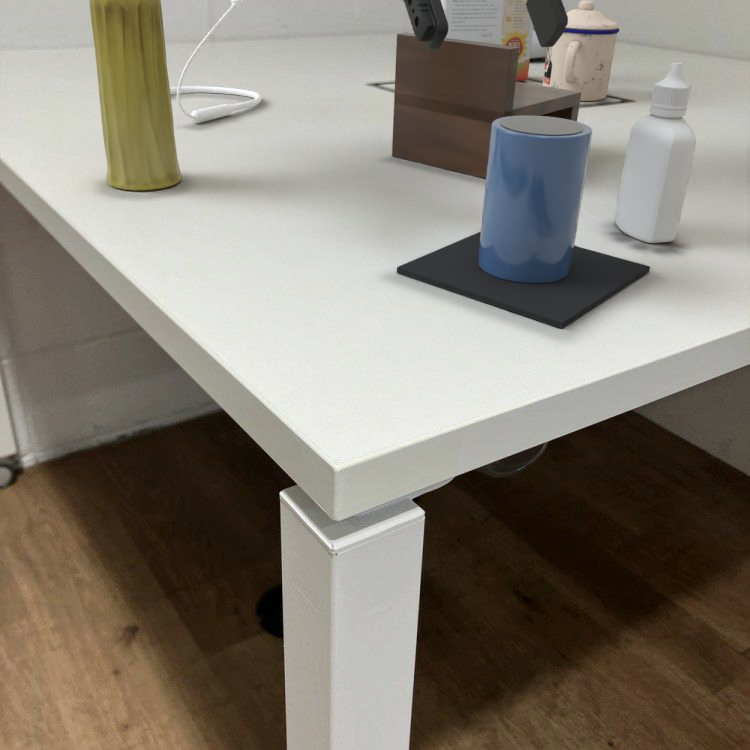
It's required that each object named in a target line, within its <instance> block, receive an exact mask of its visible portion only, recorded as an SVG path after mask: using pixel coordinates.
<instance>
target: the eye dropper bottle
mask: <svg viewBox="0 0 750 750" xmlns="http://www.w3.org/2000/svg"><path fill="white" fill-rule="evenodd" d="M691 89H692V87H691V85H690V84H689V83H687V82H685V80H684V79H683V63H681V62H671V64H670V66H669V69H668V71H667V74H666V76H665V78H664V79H661V80H659V81H657V82H655V83H654V84H653V90H652V95H651V100H650V105H649V110H648V111H649V113H650V114H649V115H646V116H643V117H640V118H638V119H637V120H636V121H634V123H633V124H632V126H631V130H630V132H629V138H628V142H627V146H626V147H627V148H626V152H625V158H624V163H623V169H622V174H621V180H620V186H619V192H618V197H617V202H616V208H615V213H614V222H615V224H616V227H618V229H619V230H620V231H621V232H623V233H624V234H625V235H627V236H630V237H631V238H634V239H635V240H639V241H641V242H644V243H649V244H658V243H659V244H660V243H670V242H674V240H675V239H676V237H677V236H678V235H677V234H678V229H679V225H680V222H681V216H682V211H683V207H684V202H685V199H686V195H687V189H688V184H689V180H690V175H691V171H692V166H693V162H694V156H695V152H696V151H695V150H696V143H697V142H696V141H697V140H696V136H695V132H694V130H693V129H692V127H691V126H690V125H689V123H688V122H687V121H686V120H685V119H684V117H685V116H686V113H687V109H688V104H689V98H690V93H691Z"/></svg>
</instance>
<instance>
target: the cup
mask: <svg viewBox="0 0 750 750" xmlns="http://www.w3.org/2000/svg"><path fill="white" fill-rule="evenodd" d="M592 136H593V128H591V127H590V126H589V125H587V124H585V123H582V122H579V121H577V122H576V121H572V120H568V119H562V118H556V117H547V116H509V117H503V118H499V119H496V120H494V121H493V122H492V124H491V133H490V143H489V153H488V163H487V174H486V179H485V184H484V185H485V186H484V194H483V203H482V215H481V225H480V232H481V234H480V244H479V254H478V264H479V267H480V268H481V269H482V270H483V271H485V272H486V273H488V274H490V275H492V276H494V277H497V278H500V279H504V280H508V281H513V282H520V283H549V282H554V281H558V280H561V279H563V278H565V277H566V276H567V275H568V274H569V273H570V269H571V263H572V257H573V250H574V246H575V244H576V237H577V231H578V224H579V218H580V211H581V206H582V199H583V193H584V188H585V182H586V174H587V168H588V162H589V155H590V150H591V149H590V148H591V143H592Z"/></svg>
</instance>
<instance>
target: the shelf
mask: <svg viewBox="0 0 750 750" xmlns="http://www.w3.org/2000/svg"><path fill="white" fill-rule="evenodd" d="M519 49H520V48H519V47H512V46H504V45H497V44H489V43H482V42H474V41H466V40H459V39H451V38H445V39H444V41H443V43H442V44H441V46H440V48H439V49H438V50H427V49H426V48H425V45H424V42H423V41H419V40H418V38H417V37H416V36H415V34H414V33H413V32H398V33H396V48H395V70H394V71H395V72H394V73H395V74H394V94H393V95H394V96H393V116H392V117H393V121H392V143H391V144H392V145H391V157H394V158H399V159H403V160H407V161H411V162H416V163H420V164H423V165H427V166H432V167H436V168H440V169H444V170H448V171H453V172H457V173H461V174H465V175H470V176H473V177H477V178H481V179H485V180H486V174H487V163H488V153H489V143H490V133H491V124H492V122H493V121H494V120H496V119H499V118H503V117H509V116H547V117H556V118H562V119H568V120H572V121H576V122H578V117H579V110H580V105H581V101H580V99H581V92H578V91H572V90H565V89H559V88H553V87H547V86H542V85H539V84H534V83H527V82H523V81H516V76H517V67H518V58H519Z"/></svg>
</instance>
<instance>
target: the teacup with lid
mask: <svg viewBox="0 0 750 750" xmlns="http://www.w3.org/2000/svg"><path fill="white" fill-rule="evenodd" d="M595 6H596V2H595V1H594V0H580V1H579V3H578V8H576V9H575V8H574V9H571V10H569V11H568V12H566V14H567V16H568V24H567V26H566V27H565V31H564V33H563V34H562V36H561V37H560V38H559V40H558V41H557V42H556V44H555V45H554V46H553V47H547V52H546V55H545V61H544V70H543V78H542V85H541V86H547V87H553V88H559V89H565V90H572V91H578V92H581V99H580V102H596V101H602V100H604V99H606V98H607V95H608V92H609V91H608V89H609V85H610V79H611V73H612V67H613V60H614V53H615V47H616V41H617V36H618V34H619V32H620V25H619V23H618V22H616V21H614V20H612V19H609V18H608V17H607V16H606V15H605V14H603V12H601V11H599V10H596V9H595Z"/></svg>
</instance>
